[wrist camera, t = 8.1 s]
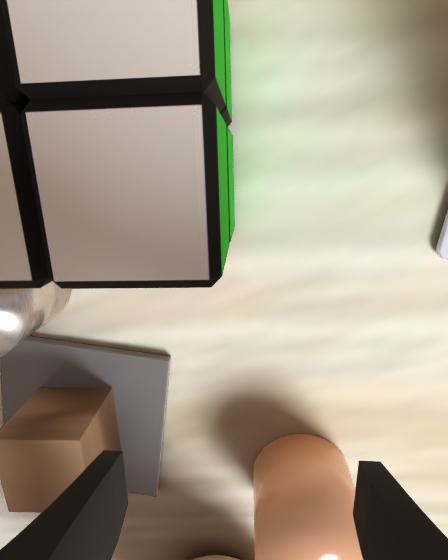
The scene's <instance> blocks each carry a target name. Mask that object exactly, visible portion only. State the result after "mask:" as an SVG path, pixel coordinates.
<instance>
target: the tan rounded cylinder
mask: <svg viewBox="0 0 448 560" xmlns="http://www.w3.org/2000/svg"><path fill="white" fill-rule="evenodd" d="M253 476H254V534H255V560H363V557H362V554H361V550H360V546H359V542H358V537H357V533H356V528H355V523H354V519H353V507H354V499H355V490H356V489H355V486H354V483H353V480H352V477H351V474H350V471H349V468H348V465H347V462H346V459H345V457H344V455H343V454H342V452H341V451H340V450H339V449H338V448H337V447H336V446H335V445H334V444H333V443H331V442H329V441H328V440H326V439H324V438H321V437H318V436H315V435H310V434H291V435H287V436H283V437H280V438H278V439H276V440H274V441H272V442H271V443H269V444H268V445H267V446H265V447H264V448H263V449H262V451H261V452H260V453H259V455H258V456H257V458H256V461H255V464H254V470H253Z"/></svg>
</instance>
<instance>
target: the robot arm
mask: <svg viewBox="0 0 448 560" xmlns="http://www.w3.org/2000/svg"><path fill="white" fill-rule="evenodd" d="M436 252H437V255H439V256H440V257H441V258H444V259H447V260H448V210H447V214H446V217H445V220H444V224H443V227H442V230H441V234H440V237H439V240H438V244H437V247H436ZM127 505H128V498H127V488H126V478H125V468H124V459H123V451H110V450H103V451H102V452H101V453H100V454H99V455H98V456H97V457H96V458H95V459H94V460H93V461H92V462H91V464H90V465H89V466H88V467H87V468H86V469H85V470H84V471H83V472H82V473H81V474H80V475H79V476H78V477H77V478H76V479H75V480H74V481H73V482H72V483H71V484H70V485H69V486H68V487H67V488H66V489H65V490H64V491H63V492H62V493H61V494H60V495H59V496H58V497H57V498H56V499H55V500H54V501H53V502H52V503H51V504H50V505H49V506H48V507H47V508H46V509H45V510H44V511H43V512H42V513H41V514H40V515H39V516H38V517H37V518H36V519H35V520H33V521H32V522H31V523H30V524H29V525H28V526H27V527H26V528H25V529H24V530H23V531H22V532H20V533H19V534H18V535H17V536H16V537H15V538H14V539H12V540H11V541H10V542H9V543H8V544H7V545H6V546H4V547H3V548H2V549H1V550H0V560H111V558H112V555H113V552H114V550H115V547H116V544H117V542H118V539H119V535H120V531H121V528H122V524H123V520H124V517H125V513H126V509H127ZM353 519H354V523H355V528H356V533H357V537H358V542H359V546H360V550H361V554H362V557H363V560H448V538H447V537H446V536H445V535H444V534H443V533H442V532H441V531H440V530H439V529H438V528H437V526H436V525H435V524H434V523H433V522H432V521H431V520H430V519H429V518H428V517H427V515H426V514H425V513H424V512H423V511H422V510H421V509H420V508H419V507H418V505H417V504H416V503H415V502H414V501H413V500H412V498H411V497H410V496H409V495H408V494H407V493H406V492H405V490H404V489H403V488H402V487H401V486H400V484H399V483H398V482H397V481H396V480H395V479H394V477H393V476H392V475H391V474H390V473H389V471H388V470H387V469H386V468H385V467H384V465H383V464H382V463H381V462H374V461H359V466H358V474H357V482H356V490H355V499H354V507H353Z"/></svg>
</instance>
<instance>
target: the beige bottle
mask: <svg viewBox="0 0 448 560" xmlns="http://www.w3.org/2000/svg"><path fill="white" fill-rule="evenodd" d="M192 560H239V559H236V558H233V557H229V556H224V555H208V556H203V557H199V558H195V559H192Z"/></svg>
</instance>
